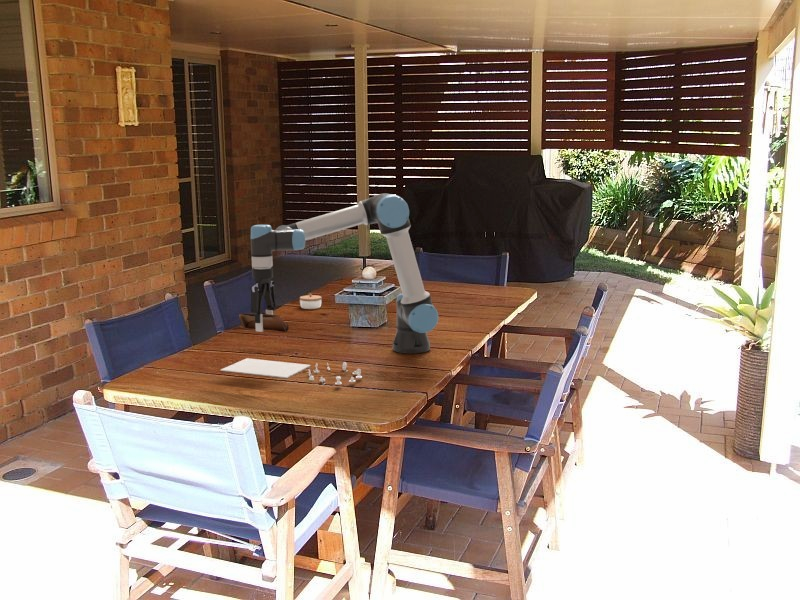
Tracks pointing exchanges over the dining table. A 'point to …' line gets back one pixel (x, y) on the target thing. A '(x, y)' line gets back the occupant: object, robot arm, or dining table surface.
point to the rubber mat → (266, 368)
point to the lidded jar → (310, 301)
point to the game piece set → (337, 376)
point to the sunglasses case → (264, 322)
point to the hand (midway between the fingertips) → (264, 329)
